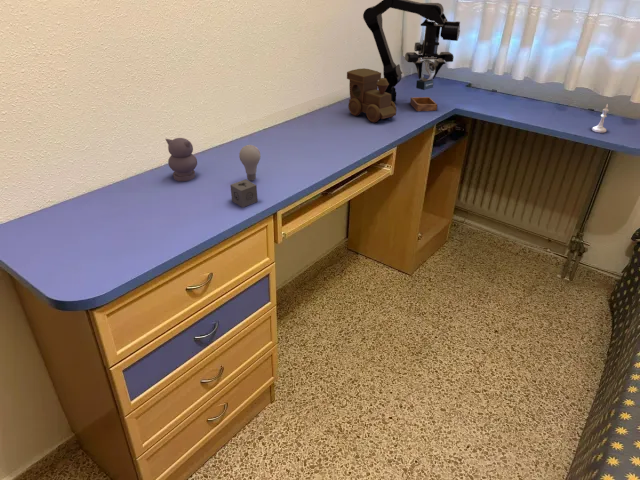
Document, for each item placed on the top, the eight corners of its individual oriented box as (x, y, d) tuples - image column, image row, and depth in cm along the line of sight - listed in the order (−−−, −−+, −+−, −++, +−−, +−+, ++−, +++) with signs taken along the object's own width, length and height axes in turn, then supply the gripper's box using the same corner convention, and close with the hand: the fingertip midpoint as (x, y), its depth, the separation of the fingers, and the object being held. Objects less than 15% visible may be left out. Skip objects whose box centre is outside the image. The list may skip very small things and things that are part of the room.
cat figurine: (203, 172, 148) (198, 135, 142) (192, 183, 142) (186, 144, 135) (178, 169, 150) (172, 132, 143) (165, 180, 143) (158, 142, 137)
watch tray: (417, 111, 201) (417, 104, 200) (409, 103, 210) (410, 97, 209) (436, 110, 202) (437, 104, 201) (428, 103, 211) (429, 97, 210)
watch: (427, 90, 198) (429, 62, 192) (413, 87, 203) (414, 60, 197) (436, 88, 201) (439, 60, 195) (422, 84, 206) (423, 57, 200)
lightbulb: (244, 186, 140) (241, 150, 135) (239, 178, 145) (235, 143, 139) (264, 183, 143) (262, 147, 137) (258, 175, 147) (256, 140, 141)
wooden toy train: (343, 112, 198) (344, 71, 190) (363, 107, 205) (365, 67, 196) (378, 125, 186) (381, 81, 177) (398, 119, 192) (402, 77, 183)
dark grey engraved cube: (246, 195, 136) (245, 179, 133) (257, 201, 133) (256, 185, 130) (232, 201, 133) (230, 184, 130) (242, 207, 130) (241, 190, 127)
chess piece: (592, 131, 182) (600, 105, 177) (591, 127, 186) (599, 101, 181) (606, 133, 181) (616, 106, 175) (605, 129, 185) (614, 103, 179)
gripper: (447, 34, 199) (441, 73, 208) (403, 35, 197) (399, 74, 206) (456, 39, 190) (450, 80, 198) (410, 40, 188) (406, 81, 196)
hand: (426, 78), depth 200 cm, fingers closed on watch, 5 cm apart
